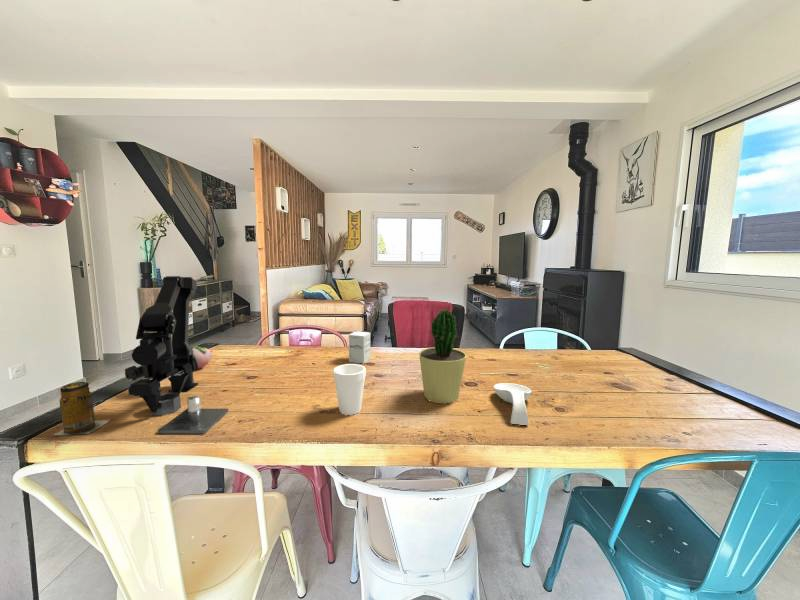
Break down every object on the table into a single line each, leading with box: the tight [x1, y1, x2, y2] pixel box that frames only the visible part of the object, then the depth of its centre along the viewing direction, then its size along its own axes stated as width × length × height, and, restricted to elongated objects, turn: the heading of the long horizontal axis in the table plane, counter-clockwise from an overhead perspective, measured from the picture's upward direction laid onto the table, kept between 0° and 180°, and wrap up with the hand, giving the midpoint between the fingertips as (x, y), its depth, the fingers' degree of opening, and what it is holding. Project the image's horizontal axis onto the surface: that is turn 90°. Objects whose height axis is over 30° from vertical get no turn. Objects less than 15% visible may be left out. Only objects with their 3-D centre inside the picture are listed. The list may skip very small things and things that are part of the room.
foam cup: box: [333, 363, 367, 416], centre depth 96 cm, size 10×9×13 cm
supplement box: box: [348, 331, 371, 365], centre depth 142 cm, size 7×7×13 cm
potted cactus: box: [418, 309, 467, 404], centre depth 106 cm, size 15×15×30 cm
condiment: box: [53, 381, 111, 436], centre depth 85 cm, size 7×8×12 cm
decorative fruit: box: [190, 345, 213, 370], centre depth 130 cm, size 9×8×10 cm
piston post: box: [157, 395, 229, 435], centre depth 89 cm, size 12×12×7 cm
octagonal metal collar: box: [149, 391, 182, 417], centre depth 96 cm, size 7×7×4 cm
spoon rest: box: [493, 382, 532, 426], centre depth 100 cm, size 24×12×7 cm, turn 169°
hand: (165, 404), depth 96 cm, fingers open, 9 cm apart
